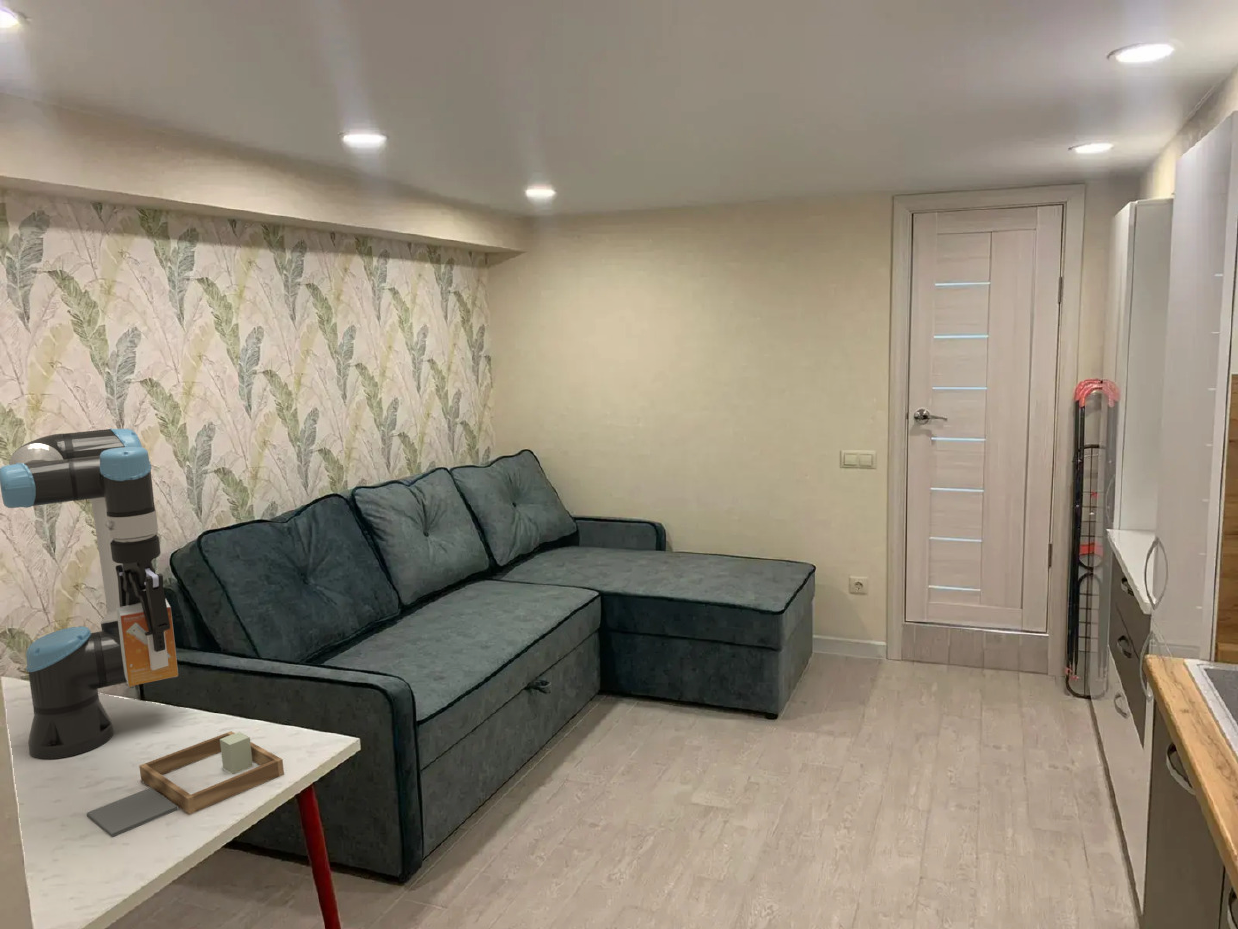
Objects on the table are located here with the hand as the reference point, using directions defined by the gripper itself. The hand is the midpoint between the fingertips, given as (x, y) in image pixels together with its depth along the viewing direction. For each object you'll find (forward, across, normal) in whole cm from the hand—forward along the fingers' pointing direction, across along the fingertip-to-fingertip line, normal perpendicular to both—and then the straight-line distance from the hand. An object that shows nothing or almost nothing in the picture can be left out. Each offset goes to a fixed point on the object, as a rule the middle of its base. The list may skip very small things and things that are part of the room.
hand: (149, 662), depth 164 cm
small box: (+3, 0, 0) cm, 3 cm away
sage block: (+26, -1, +14) cm, 30 cm away
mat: (+26, 0, -6) cm, 27 cm away
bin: (+26, -1, +9) cm, 28 cm away
